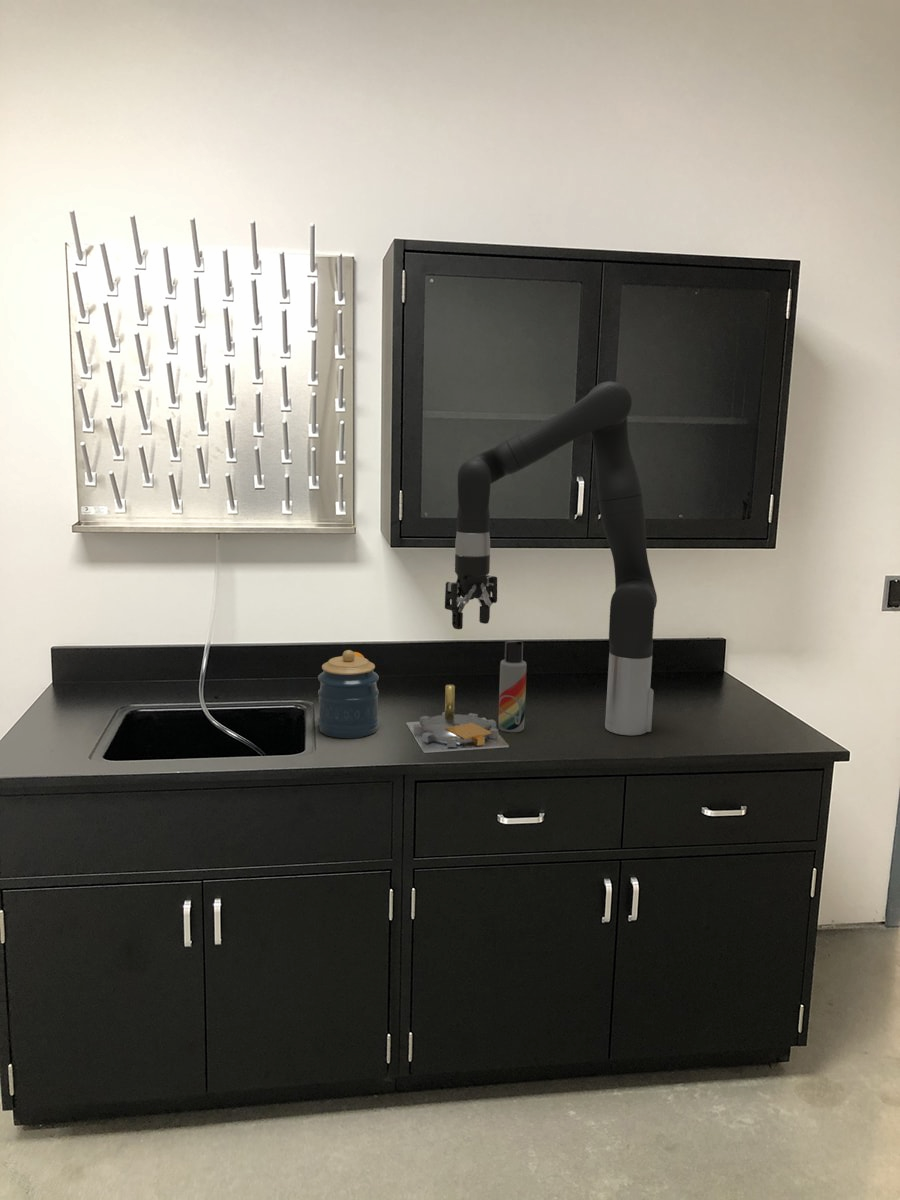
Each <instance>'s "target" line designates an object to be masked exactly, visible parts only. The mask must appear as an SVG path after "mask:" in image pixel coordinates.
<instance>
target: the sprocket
mask: <svg viewBox="0 0 900 1200" xmlns="http://www.w3.org/2000/svg"><path fill="white" fill-rule="evenodd" d="M455 689H456V686H455V685H454V684H446V685H445V692H444V693H445V697H444V711H442V713H441V714H440V715H434V716H428V715H422V716H420V717H419V722H420V724H413V732H414V734H422V741H424V742H426V743H429V742H432V741H435V742H439V743H445V744H447V747H456V745H457V744H472V743H473V744H475V745H477V746H479V745H483V744H484V743H485V740H486V739H487V738H497V737H498V734H499V735H500V733H499V730H500V729H499V728H497V721H495V719H486V720H484V719H482V718H483V717H478V716H479V715H478V713H472V712H469V713H468V714H459V713H458V714H455V696H456V694H455V691H456V690H455Z"/></svg>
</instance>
